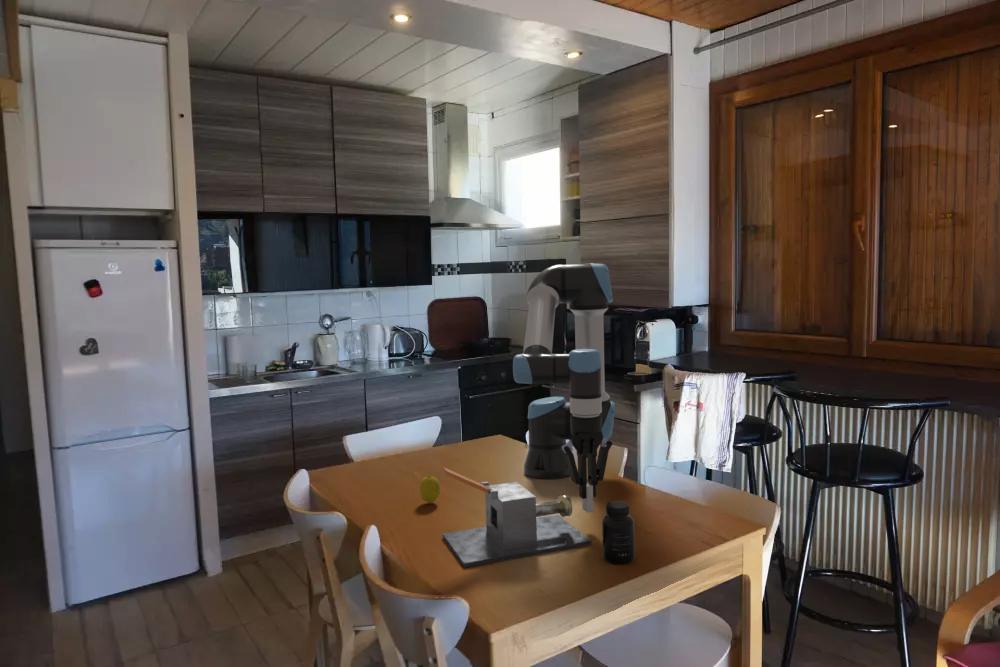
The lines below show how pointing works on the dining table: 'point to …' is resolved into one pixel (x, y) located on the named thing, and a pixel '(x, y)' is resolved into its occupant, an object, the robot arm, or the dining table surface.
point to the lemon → (429, 489)
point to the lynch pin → (555, 507)
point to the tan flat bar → (466, 480)
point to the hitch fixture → (512, 530)
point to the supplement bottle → (618, 534)
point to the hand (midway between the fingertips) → (588, 510)
